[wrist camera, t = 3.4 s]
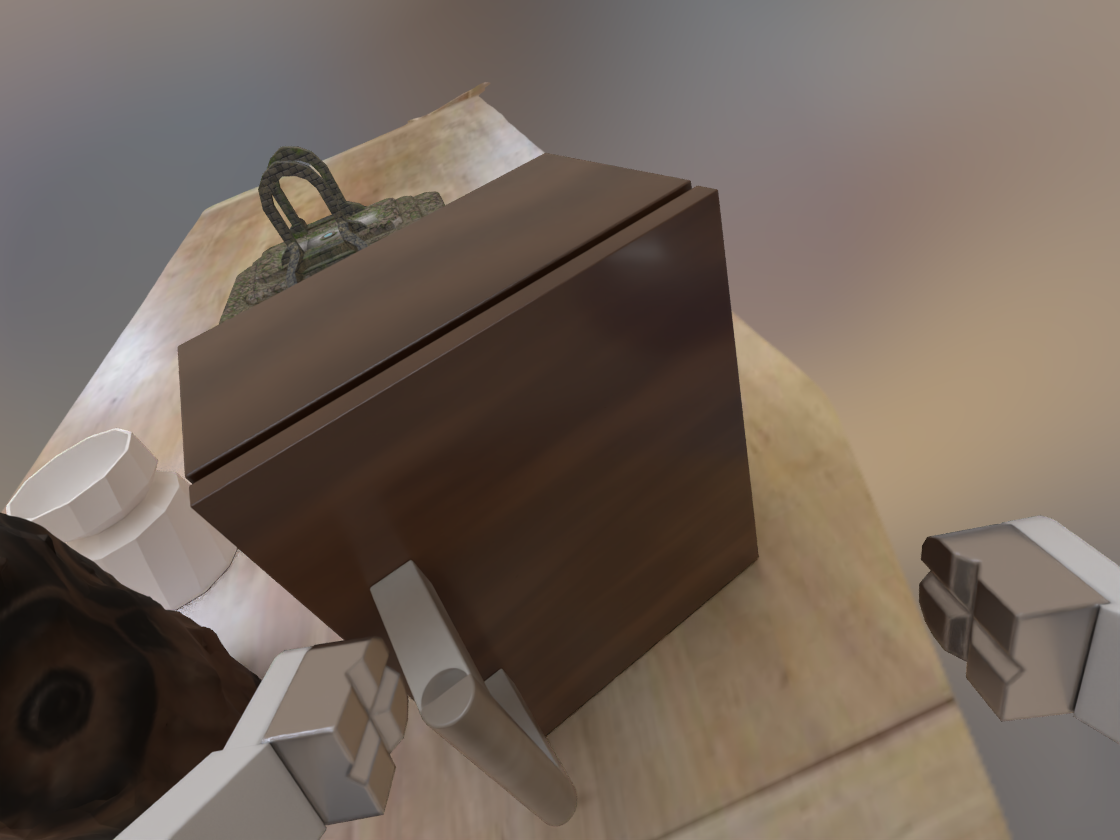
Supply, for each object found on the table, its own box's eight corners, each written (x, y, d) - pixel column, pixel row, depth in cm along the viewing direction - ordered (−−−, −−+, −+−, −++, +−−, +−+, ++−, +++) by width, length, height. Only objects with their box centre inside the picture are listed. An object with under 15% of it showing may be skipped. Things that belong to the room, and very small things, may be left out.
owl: (226, 651, 39) (-60, 458, 26) (368, 681, 34) (101, 461, 21) (72, 875, 31) (-457, 754, 18) (231, 959, 26) (-345, 873, 13)
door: (849, 629, 28) (885, 221, 14) (560, 899, 24) (200, 692, 10) (745, 546, 33) (697, 184, 19) (490, 757, 29) (187, 486, 15)
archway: (440, 200, 100) (392, 89, 89) (475, 267, 74) (413, 123, 63) (257, 278, 98) (183, 176, 87) (227, 375, 72) (116, 247, 61)
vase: (126, 587, 47) (-7, 499, 40) (215, 510, 51) (111, 417, 44) (163, 633, 42) (17, 542, 34) (259, 543, 46) (149, 444, 39)
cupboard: (743, 545, 33) (691, 179, 19) (489, 753, 29) (183, 477, 15) (638, 461, 41) (545, 152, 26) (423, 617, 36) (176, 346, 22)
